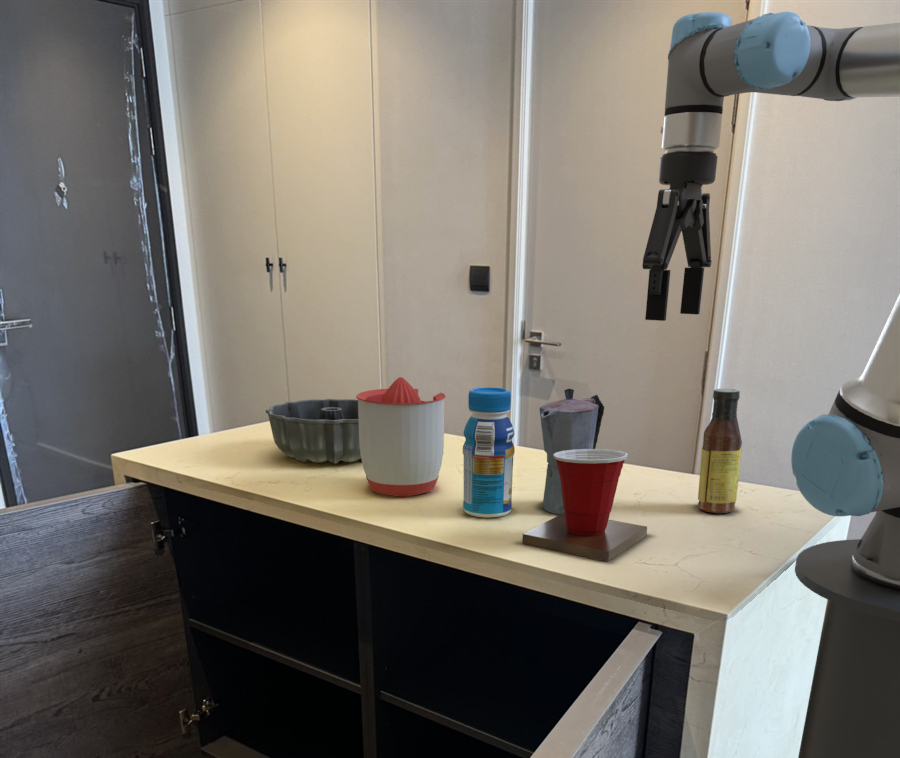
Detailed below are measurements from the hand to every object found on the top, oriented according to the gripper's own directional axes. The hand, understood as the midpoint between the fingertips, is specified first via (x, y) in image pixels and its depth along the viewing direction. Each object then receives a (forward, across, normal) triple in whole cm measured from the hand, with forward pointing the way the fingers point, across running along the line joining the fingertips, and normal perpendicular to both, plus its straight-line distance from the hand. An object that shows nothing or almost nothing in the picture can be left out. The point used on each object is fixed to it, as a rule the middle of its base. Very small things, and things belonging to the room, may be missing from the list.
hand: (673, 317), depth 125 cm
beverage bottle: (+32, +8, -26) cm, 42 cm away
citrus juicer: (+32, +4, -46) cm, 56 cm away
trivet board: (+32, +12, -6) cm, 34 cm away
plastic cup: (+30, +12, -6) cm, 33 cm away
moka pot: (+32, -2, -16) cm, 36 cm away
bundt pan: (+32, -8, -74) cm, 81 cm away
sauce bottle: (+32, -15, +5) cm, 36 cm away
